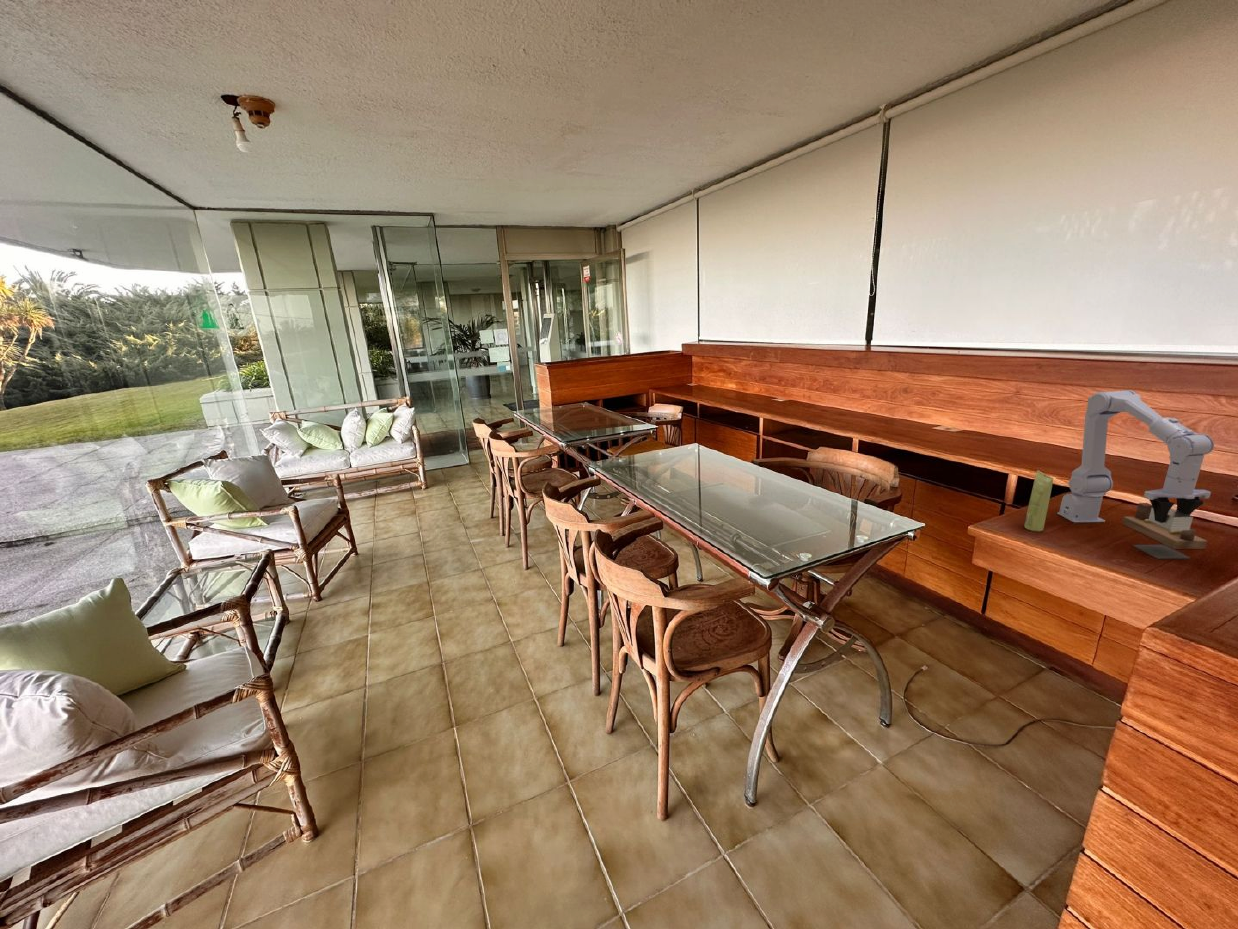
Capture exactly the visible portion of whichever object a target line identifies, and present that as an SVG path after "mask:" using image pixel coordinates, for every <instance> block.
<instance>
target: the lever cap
mask: <svg viewBox="0 0 1238 929" xmlns="http://www.w3.org/2000/svg"><path fill="white" fill-rule="evenodd" d="M1193 519H1194V516H1192V515H1190V516H1189V515H1187V514H1185V513H1182V512H1180V511H1177V510H1176V509H1174V508H1173V507H1171V509H1170V510H1169V512H1168V514H1167V517H1166V520H1165V522H1164V523H1160V522H1158V521H1155V517H1154V510H1153V508H1151V512H1150V516H1149V521H1151V522H1154V523H1156V524H1158V525H1160V526H1162V527H1164V528H1167V529H1169V530H1189V529H1190V528H1191V526H1192V522H1193Z"/></svg>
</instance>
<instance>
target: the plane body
mask: <svg viewBox="0 0 1238 929" xmlns="http://www.w3.org/2000/svg"><path fill="white" fill-rule="evenodd" d="M1151 508H1153V507H1152V504H1151V503H1148V502H1138V503H1137V507H1136V512H1135V514H1134V515H1135V516H1123V517H1122V520H1121V524H1122V525H1124V526H1126V527H1127V528H1130V529H1132V530H1134V531H1136V532H1138V533H1140V534H1142V535H1144V536H1146V537H1148V538H1151V539H1152V540H1154V541H1157V542H1159V543H1160V544H1162V545H1165V546H1168V547H1170V548H1172V549H1174V550H1186V549H1187V550H1190V549H1191V550H1197V549H1198V550H1199V549H1201V550H1205V549H1206V547H1207V544H1208V540H1207V539H1204V538H1201V537H1200V536H1197V535H1196V533H1197V530H1196V529H1194V528H1191V527H1190V529H1189V530H1169V529H1167V528H1164V527H1162V526H1160V525H1158V524H1156V523H1154V522H1151V521H1149V516H1150V512H1151Z"/></svg>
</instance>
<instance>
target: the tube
mask: <svg viewBox="0 0 1238 929" xmlns="http://www.w3.org/2000/svg"><path fill="white" fill-rule="evenodd" d="M1053 484H1054V477H1052V476H1050V475H1048V474H1046V473H1043V472H1042V471H1040V470H1036V473H1035V476H1034V481H1033V486H1032V489H1031V494H1030V498H1029V502H1028V507H1027V512H1026V517H1025V519H1024V520H1025V521H1024V528H1025V529H1027V530H1029V531H1031V532H1043V531H1044V527H1045V523H1046V519H1047V514H1048V513H1047V512H1048V510H1049V503H1050V498H1051V495H1052V494H1051V493H1052V489H1053Z"/></svg>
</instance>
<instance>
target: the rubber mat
mask: <svg viewBox="0 0 1238 929" xmlns="http://www.w3.org/2000/svg"><path fill="white" fill-rule="evenodd" d="M1132 547H1134V548H1136V549H1137V550H1139V551H1141V552H1143V553H1145V554H1147V555H1149V556H1152V558H1154V559H1156V560H1190V559H1191V557H1190V556H1188V555H1185V554H1184V553H1182V552H1180V551H1177V549H1173V548H1171V547H1169V546H1167V545H1165V544H1133V545H1132Z"/></svg>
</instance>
